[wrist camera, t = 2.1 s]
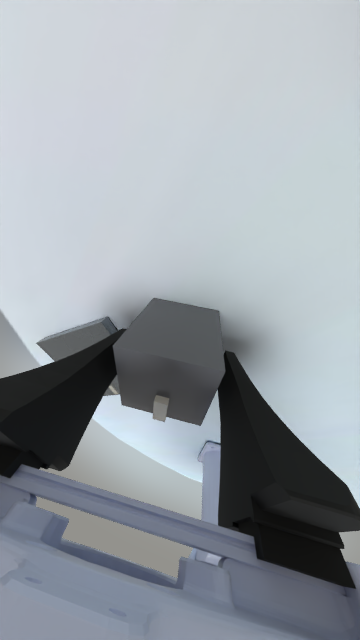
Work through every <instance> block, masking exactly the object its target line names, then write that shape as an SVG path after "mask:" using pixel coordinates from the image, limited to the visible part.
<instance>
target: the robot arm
mask: <svg viewBox="0 0 360 640" xmlns="http://www.w3.org/2000/svg"><path fill="white" fill-rule="evenodd" d="M126 330H127V329H123V328H122V329H121V330H119V331H117V332H115V333H113V334H112V335H110V336H108V337H106V338H105V339H103V340H101V341H99V342H97V343H95V344H93V345H91V346H89V347H87V348H85V349H83V350H81V351H79V352H77V353H75V354H73V355H70V356H68V357H66V358H63V359H61V360H58V361H55V362H53V363H50V364H47V365H44V366H41V367H39V368H36V369H33V370H29V371H26V372H23V373H19V374H16V375H13V376H9V377H5V378H1V379H0V640H360V565H358V564H355V563H349V562H345V560H344V558H343V555H342V553H341V550H340V549H344V544H343V542H342V539H341V537H340V535H339V532H348V531H359V530H360V508H359V506H358V505H357V503H356V501H355V499H354V497H353V495H352V493H351V492H350V490H349V488H348V486H347V485H346V484H345V483H344V482H343V481H342V480H341V479H340V478H339V477H337V476H336V475H335V474H334V473H333V472H332V471H331V470H330V469H329V468H328V467H327V466H326V465H325V464H323V463H322V462H321V461H320V460H319V459H318V458H317V457H316V456H315V455H314V454H313V453H312V452H311V451H310V450H309V449H308V448H307V447H306V446H305V445H304V444H303V443H302V442H301V441H300V440H299V439H298V438H297V437H296V436H295V435H294V434H293V433H292V431H291V430H290V429H289V428H288V427H287V426H286V425H285V424H284V423H283V422H282V420H281V419H280V418H279V417H278V416H277V415H276V414H275V412H274V411H273V410H272V409H271V407H270V406H269V405H268V404H267V402H266V401H265V400H264V399H263V397H262V396H261V395H260V393H259V392H258V390H257V389H256V388H255V386H254V385H253V383H252V382H251V380H250V379H249V377H248V375H247V374H246V372H245V371H244V369H243V367H242V366H241V364H240V362H239V360H238V359H237V357H236V355H235V354H234V353H233V352H228V351H225V353H224V363H225V374H224V376H223V378H222V380H221V382H220V385H219V387H218V397H219V408H220V421H221V445H218V444H214V443H210V442H207V443H206V444H205V446H204V448H203V450H202V451H201V453H200V455H199V456H198V461H199V462H202V463H203V486H202V519H201V520H198V519H195V518H192V517H189V516H185V515H182V514H179V513H176V512H173V511H169V510H166V509H163V508H160V507H157V506H154V505H151V504H147V503H144V502H141V501H138V500H135V499H131V498H128V497H125V496H122V495H119V494H115V493H112V492H109V491H106V490H103V489H99V488H96V487H93V486H90V485H87V484H83V483H80V482H77V481H74V480H71V479H68V478H64V477H61V476H58V475H55V474H52V473H48V472H45V471H42V470H39V469H40V467H41V468H44V469H48V468H52V469H55V470H58V471H62V470H63V469H65V468H66V467H68V466H69V464H70V462H71V460H72V458H73V455H74V453H75V451H76V449H77V447H78V445H79V442H80V440H81V438H82V436H83V434H84V432H85V430H86V428H87V426H88V424H89V422H90V420H91V418H92V416H93V414H94V412H95V410H96V408H97V406H98V404H99V403H100V401H101V399H102V397H103V395H104V394H105V392H106V390H107V389H108V387H109V386H110V384H111V383H112V381H113V380H114V378H115V377H116V375H117V370H116V363H115V357H114V350H113V345H114V344H115V342H116V341H117V340H118V339H119V338H120V337H121V335H122V334H123V333H124V332H125V331H126ZM36 496H38V497H41V498H44V499H47V500H50V501H53V502H56V503H59V504H62V505H65V506H68V507H71V508H74V509H77V510H81V511H84V512H87V513H89V514H92V515H95V516H98V517H101V518H104V519H108V520H111V521H113V522H117V523H120V524H123V525H126V526H129V527H132V528H135V529H138V530H141V531H144V532H147V533H150V534H153V535H156V536H159V537H162V538H165V539H168V540H171V541H174V542H177V543H180V544H183V545H186V546H189V547H192V548H193V550H192V552H191V554H190V555H189V558H185V557H181V558H180V560H179V571H178V578H175V577H173V576H170V575H167V574H164V573H162V572H159V571H157V570H153V569H151V568H149V567H146V566H143V565H140V564H138V563H134V562H132V561H129V560H126V559H124V558H121V557H118V556H115V555H112V554H109V553H106V552H103V551H100V550H97V549H94V548H91V547H88V546H85V545H82V544H79V543H76V542H73V541H69V540H66V539H63V538H62V535H63V533H64V530H65V529H66V527H67V525H68V523H69V519H68V518H66V517H63V516H60V515H57V514H55V513H52V512H50V511H47V510H44V509H41V508H38V507H36V501H37V498H36Z"/></svg>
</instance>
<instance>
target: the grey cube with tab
mask: <svg viewBox="0 0 360 640" xmlns="http://www.w3.org/2000/svg"><path fill="white" fill-rule="evenodd" d="M113 350H114V357H115V363H116V370H117V376H118V383H119V389H120V396H121V403H122V405H124V406H128V407H131V408H135V409H139V410H143V411H146V412H150V413H153V419H156V420H159V421H163V422H165V419H166V417H169V418H173V419H177V420H180V421H184V422H188V423H192V424H196V425H199V426H201V424H202V422H203V420H204V417H205V415H206V413H207V411H208V409H209V407H210V404H211V402H212V400H213V398H214V396H215V393H216V391H217V389H218V387H219V385H220V382H221V380H222V378H223V376H224V374H225V363H224V354H223V345H222V336H221V326H220V317H219V311H217V310H212V309H207V308H202V307H197V306H191V305H186V304H181V303H176V302H171V301H166V300H161V299H156V298H153V299H152V301H151V302H150V303H149V304H148V305H147V306H146V308H145V309H144V310H143V311H142V312H141V313H140V315H139V316H138V317H137V318H136V319H135V320H134V321H133V323H132V324H131V325H130V326H129V327H128V328H127V330H126V331H125V332H124V333H123V334H122V335H121V337H120V338H119V339H118V340H117V341H116V342H115V344H114V345H113Z"/></svg>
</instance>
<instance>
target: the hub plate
mask: <svg viewBox="0 0 360 640" xmlns="http://www.w3.org/2000/svg"><path fill="white" fill-rule="evenodd" d="M115 332H117V329H116V328H115V327H114V325H113V324H112V322H111V321H110V319H109V318H108V317H105V318H102V319H99V320H96V321H93V322H90V323H87V324H84V325H81V326H78V327H75V328H72V329H69V330H66V331H63V332H60V333H57V334H54V335H51V336H48V337H45V338H44V339H42V340H40V341H39V342H37V343H36V344H38V345H39V346H40V347H41V348H42V349H43V350H44V351H45V352H46V353H47V354H48V355H49V356H50V357H51V358H52V359H53V360H54V361H58V360H61V359H63V358H66V357H68V356H70V355H73V354H75V353H77V352H79V351H81V350H83V349H85V348H87V347H89V346H91V345H93V344H95V343H97V342H99V341H101V340H103V339H105V338H106V337H108V336H110V335H112V334H113V333H115ZM118 394H120V389H119V383H118V376H117V375H116V377H115V378H114V380H113V381H112V383H111V384H110V386H109V387H108V389H107V390H106V392H105V394H104V395H103V396H108V395H118Z"/></svg>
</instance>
